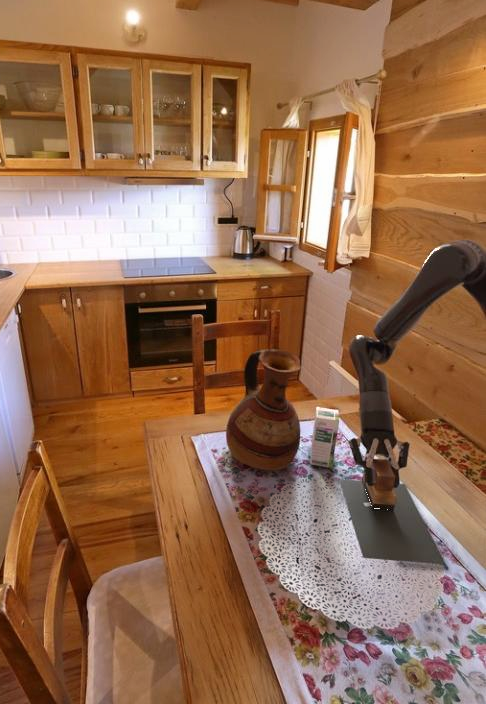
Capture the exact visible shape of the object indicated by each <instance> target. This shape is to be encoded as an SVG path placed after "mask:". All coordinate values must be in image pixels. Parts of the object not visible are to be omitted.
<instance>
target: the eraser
mask: <svg viewBox="0 0 486 704" xmlns="http://www.w3.org/2000/svg"><path fill="white" fill-rule="evenodd" d="M371 468H372V471H373V482H374V485H373V486H368V484H367V483H366V482H365V477H364V471H363V472H362V478H361V481H362V483H363V485H364V488H365V489H366V492H367V494H368V495H367V496H368V497H369V499H370V502H371V503H370V504H371V505H372V509H374V508H380V509H383V510H387V509H388V510H394V507H395V503H396V499H397V495H396V493H395V491H394V489H393V485H394V480H395V476H394V474H393V472H392V470H391V468H390V466H389V464H388V462H387V460H386V459H385V458H384V459H383V458H373V461H372V465H371Z"/></svg>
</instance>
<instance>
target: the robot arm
mask: <svg viewBox="0 0 486 704" xmlns="http://www.w3.org/2000/svg"><path fill="white" fill-rule="evenodd" d="M457 287H462V288H463V289H464V290H465V291H466V292H467V293H468V294H469V295H470V297H472V299H473V300H475V302H476V303H477V305H478V306H479V308H480V310H481V311H482V314H483V317H484V318H485V319H486V249H485V248H484V247H483V245H481V244H480V243H478V242H477V241H474V240H472V239H469V238H468V239H467V238H459V239H458V238H457V239H455V240H452V241H449V242H446V243H443V244H441V245H438V247H435V249H433V250H432V251H431V252H430V254H429V256H428V257H427V258H426V260H425V261H424V263H423V265H422V266H421V267H420V270H419V271H418V273H417V274H416V276H415V277H414V279H413V280H412V281H411V283H410V284H409V286H408V287H407V288H406V289H405V291H404V292H403V293H402V295H401V296H400V297H399V298H398V299H397V300H396V301H395V302H394V303H393V304H392V305H391V307H389V308H388V310H387V311H386V312H385V313H384V314H383V315H382V316H381V318H380V319H378V321H377V322H376V323H375V325H374V326H373V334H374V336H375V337H373V336H367V335H364V334H363V335H361V334H360V335H356V336H354V337H353V338H352V339H351V341H350V343H349V347H348V354H349V358H350V361H351V365H352V367H353V370H354V373H355V375H356V377H357V381H358V395H359V399H358V405H359V406H358V411H359V418H360V419H359V421H360V430H361V431H360V432H361V433H360V437H356V438H355V437H352V438H351V439H349V440H348V444H349V447H350V450H351V454H352V457H353V461H354V463H355V465H356V466H359V467H361V468H362V469H363V472H364V477H365V482H366V483H367V484H368V486H373V485H374V482H373V471H372V468H371V465H372V461H373V459H375V456H380V457H384V459H386V460H387V462H388V464H389V466H390V468H391V470H392V472H393V474H394V476H395V480H394V485H393V488H397V487H398V485H399V484H401V479H400V470H401V469H405V468H407V466H408V460H409V459H408V457H409V453H410V452H409V451H410V443H409V442H408V441H401V440H398V438H397V437H396V435H395V426H394V416H393V415H394V414H393V407H392V400H391V397H390V392H389V391H390V390H389V382H388V381H389V380H388V377H387V376H388V375H387V374H386V373H385V372H384V371H383V370H380V369H378V368H377V367H375V366H383V365H384V364H386V363H388V362H389V361H390V360H391V359H392V356H393V355H394V353H395V351H396V349H397V347H398V345H399V343H400V341H402V340H403V339H404V338H405V337H406V336H407V335H408V334H409V333H410V332H411V331H412V330H413V329H414V328H415V327H416V326H417V325H418V323H419V322H420V321H421V319H422V318H423V317H424V314H425V313H426V312H427V311H428V309H429V308H431V306H432V305H434V304H435V303H436V302H437V301H438V300H439V299H441V298H442V297H443V296H445V295H446V294H448V293H449V292H451V291H452V290H454V289H455V288H457ZM361 445H362V446H363V447H364V449H365V455H364V459H363V455H362V453H361V449H360V447H361ZM395 447H396V448H397V450H398V451H399V452H398V458H397V457H396V454H395V451H394V449H395Z"/></svg>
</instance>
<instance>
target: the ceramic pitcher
mask: <svg viewBox="0 0 486 704" xmlns="http://www.w3.org/2000/svg"><path fill="white" fill-rule="evenodd" d="M259 364H260V365H261V366H262V367H263V369H264V378H263V383H262V385H261V387H259V383H258V366H259ZM301 369H302V368H301V361H300V358H299V357H298V356H296V354H293V353H291V352H290V351H286V350H282V349H276V348H272V349H262V350H257V351H254V352H252V353H251V354H249V356H248V358H247V360H246V362H245V365H244V369H243V379H244V387H245V393H244V396H243V397H242V398H241V400H239V402H238V403H237V404H236V406H235V407H234V408H233V409H232V411H231V413H230V415H229V417H228V420H227V424H226V430H225V440H226V446H227V448H228V450H229V452H230V454H231V455H232V456H233V457H234V458H235V459H236V460H237V461H238V462H240V463H242V464H244V465H245V466H249V467H252V468H254V469H255V468H256V469H258V470H265V471H266V470H269V471H275V470H277V471H278V470H281V469H285V468H286V467H288V466H289V465H290V464H291V463H292V462H293V461H294V459H295V457H296V455H297V454H298V450H299V448H300V442H301V423H300V419H299V415H298V413H297V411H296V408H295V407H294V405H293V404H292V402H291V401H290V400H289V399H288V398H287V396H286V393H287V392H286V391H287V387H288V386H289V385H288V384H289V381H290V379H291V377H292V376H293V375H294V374H296V373H298V372H300V371H301Z"/></svg>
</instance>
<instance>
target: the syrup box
mask: <svg viewBox="0 0 486 704" xmlns="http://www.w3.org/2000/svg"><path fill="white" fill-rule="evenodd" d="M339 425H340V413H339V409H332V408H325V407H321V406H316V408H315V415H314V422H313V429H312V438H311V445H310V457H309V465H310V466H319V467H323V468H328V469H332V468H333V465H334V457H335V451H336V445H337V440H338V439H337V438H338V432H339Z"/></svg>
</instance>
